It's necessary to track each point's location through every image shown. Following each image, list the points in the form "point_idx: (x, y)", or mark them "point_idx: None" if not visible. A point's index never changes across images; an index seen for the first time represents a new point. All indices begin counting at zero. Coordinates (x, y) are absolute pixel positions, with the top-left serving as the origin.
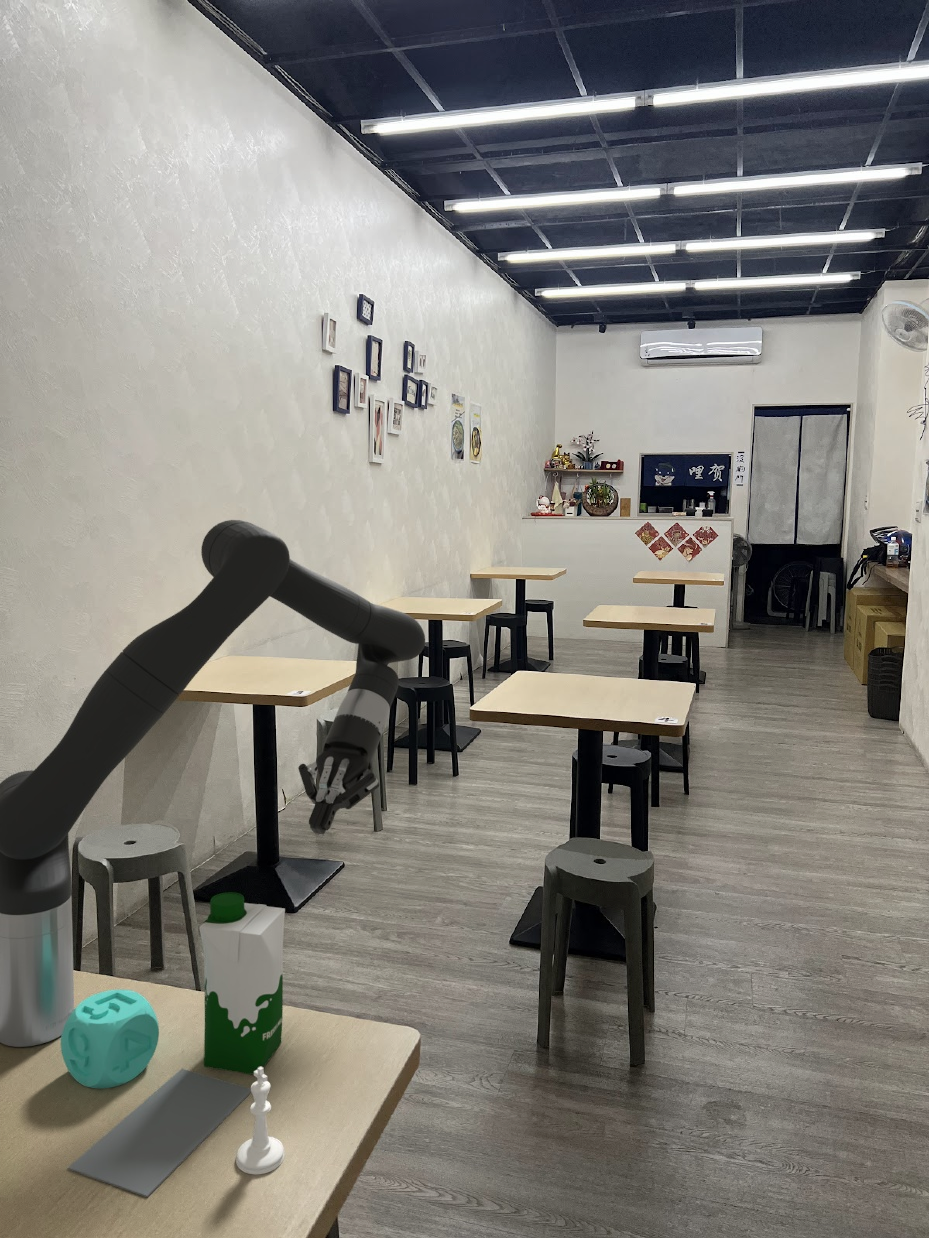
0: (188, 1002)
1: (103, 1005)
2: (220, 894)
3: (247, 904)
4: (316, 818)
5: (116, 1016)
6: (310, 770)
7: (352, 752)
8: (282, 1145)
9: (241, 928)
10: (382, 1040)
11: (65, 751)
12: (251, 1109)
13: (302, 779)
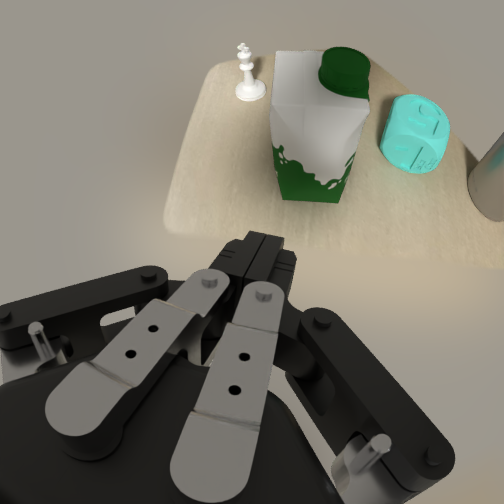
0: (406, 253)
1: (432, 123)
2: (365, 69)
3: (333, 102)
4: (264, 244)
5: (406, 102)
6: (371, 441)
7: (30, 501)
8: (237, 93)
9: (304, 53)
10: (185, 223)
11: None
12: (251, 62)
13: (396, 384)
